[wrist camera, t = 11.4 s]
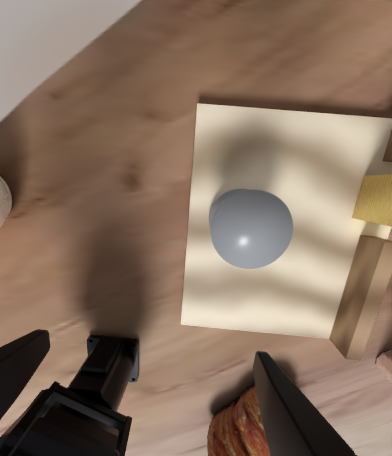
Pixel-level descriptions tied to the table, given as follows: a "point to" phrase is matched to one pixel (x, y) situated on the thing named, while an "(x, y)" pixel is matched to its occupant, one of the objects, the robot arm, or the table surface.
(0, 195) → the lidded jar
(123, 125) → the table surface
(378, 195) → the tab
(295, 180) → the board
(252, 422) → the pastry
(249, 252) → the grey rounded knob
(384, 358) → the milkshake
